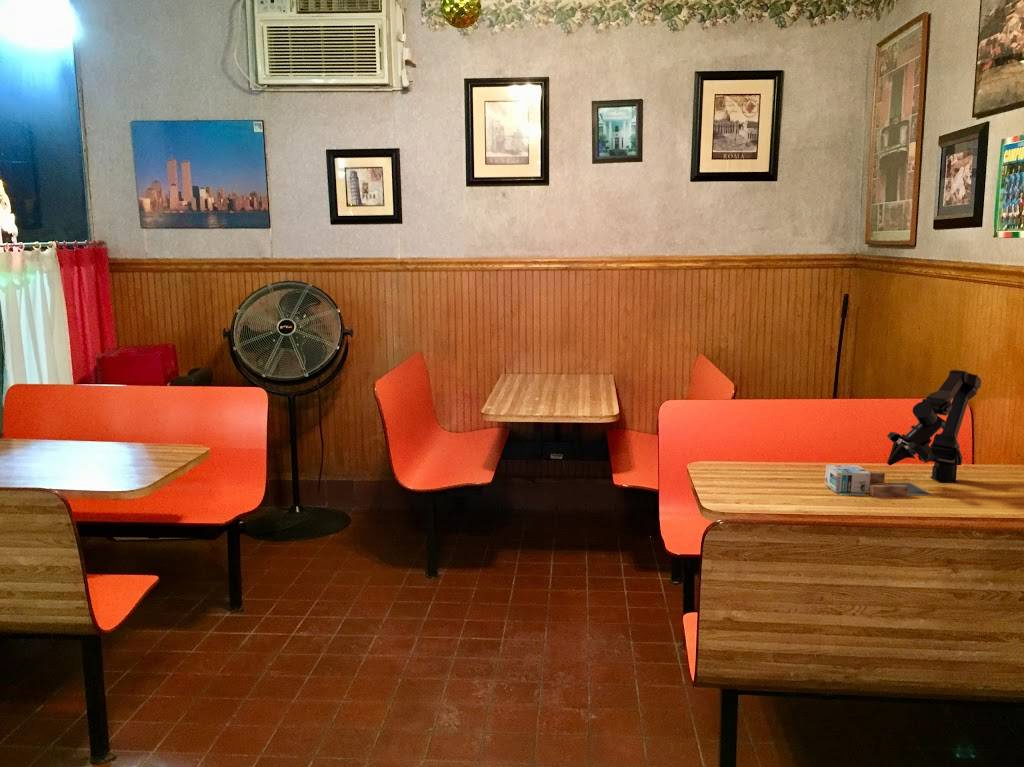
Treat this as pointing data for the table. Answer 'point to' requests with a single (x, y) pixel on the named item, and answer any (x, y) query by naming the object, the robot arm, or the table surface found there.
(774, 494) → the table surface
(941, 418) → the robot arm
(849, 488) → the light bulb box
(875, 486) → the walnut track
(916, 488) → the mat
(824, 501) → the table surface
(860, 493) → the teal pad
